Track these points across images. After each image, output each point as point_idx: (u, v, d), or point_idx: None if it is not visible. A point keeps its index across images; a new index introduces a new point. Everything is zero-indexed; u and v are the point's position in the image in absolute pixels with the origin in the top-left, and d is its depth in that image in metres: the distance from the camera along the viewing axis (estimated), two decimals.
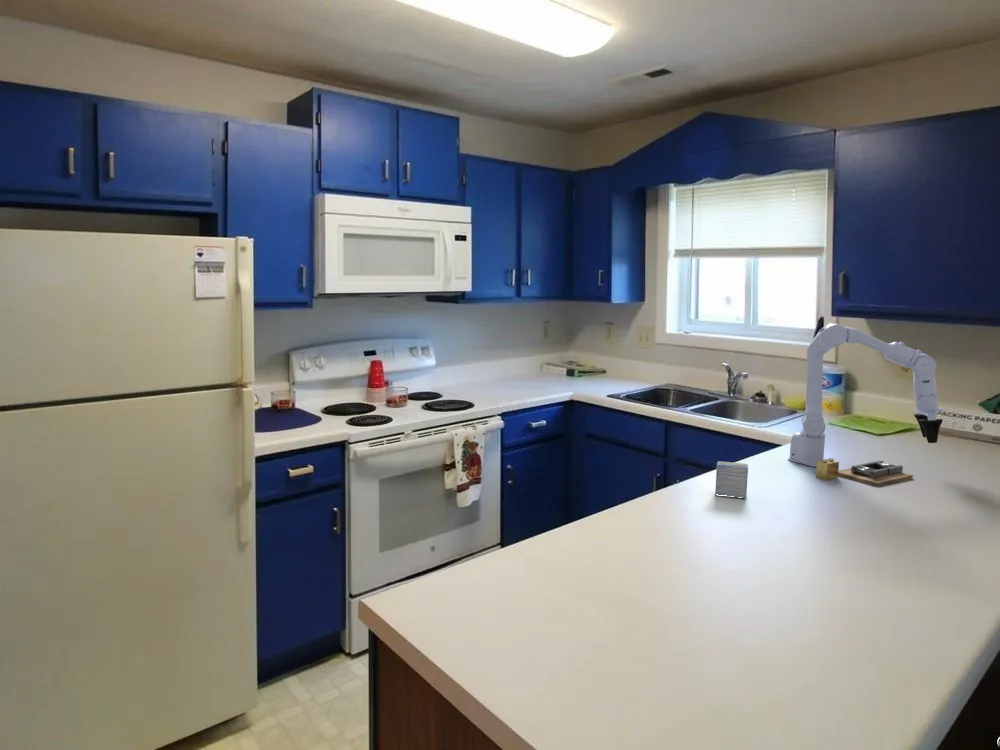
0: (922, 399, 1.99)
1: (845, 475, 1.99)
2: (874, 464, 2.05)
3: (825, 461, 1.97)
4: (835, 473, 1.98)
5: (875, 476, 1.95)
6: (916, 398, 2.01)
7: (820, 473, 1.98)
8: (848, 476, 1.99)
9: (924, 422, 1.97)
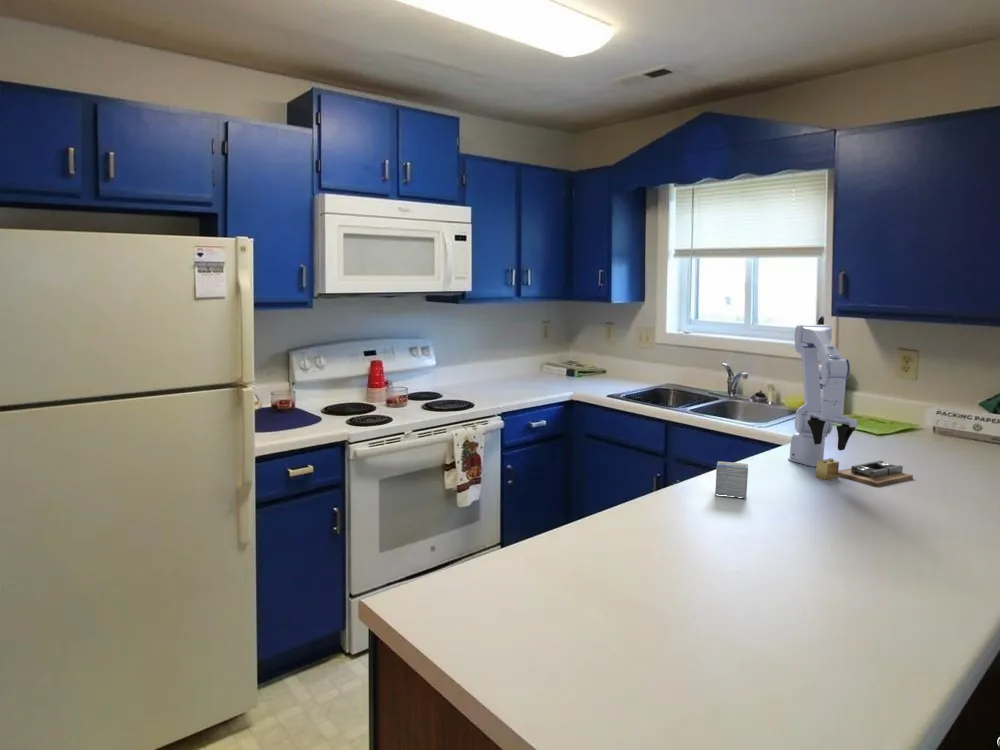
0: None
1: (845, 475, 1.99)
2: (874, 464, 2.05)
3: (825, 461, 1.97)
4: (835, 473, 1.98)
5: (875, 476, 1.95)
6: None
7: (820, 473, 1.98)
8: (848, 476, 1.99)
9: None
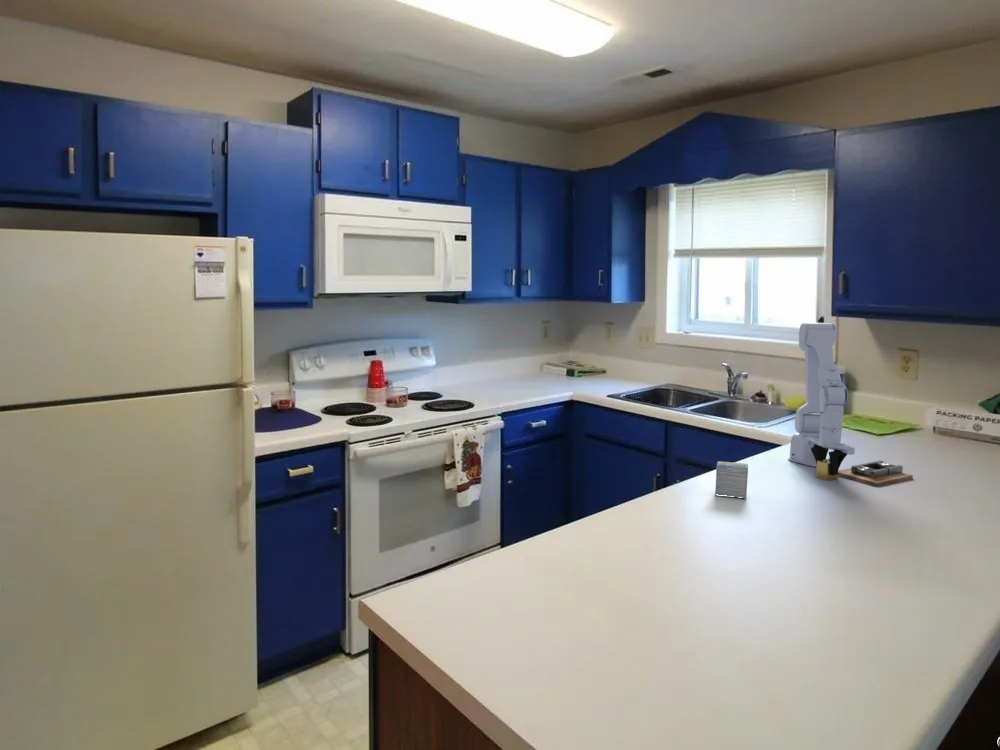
0: None
1: (845, 475, 1.99)
2: (874, 464, 2.05)
3: (825, 461, 1.97)
4: None
5: (875, 476, 1.95)
6: None
7: (820, 473, 1.98)
8: (848, 476, 1.99)
9: None
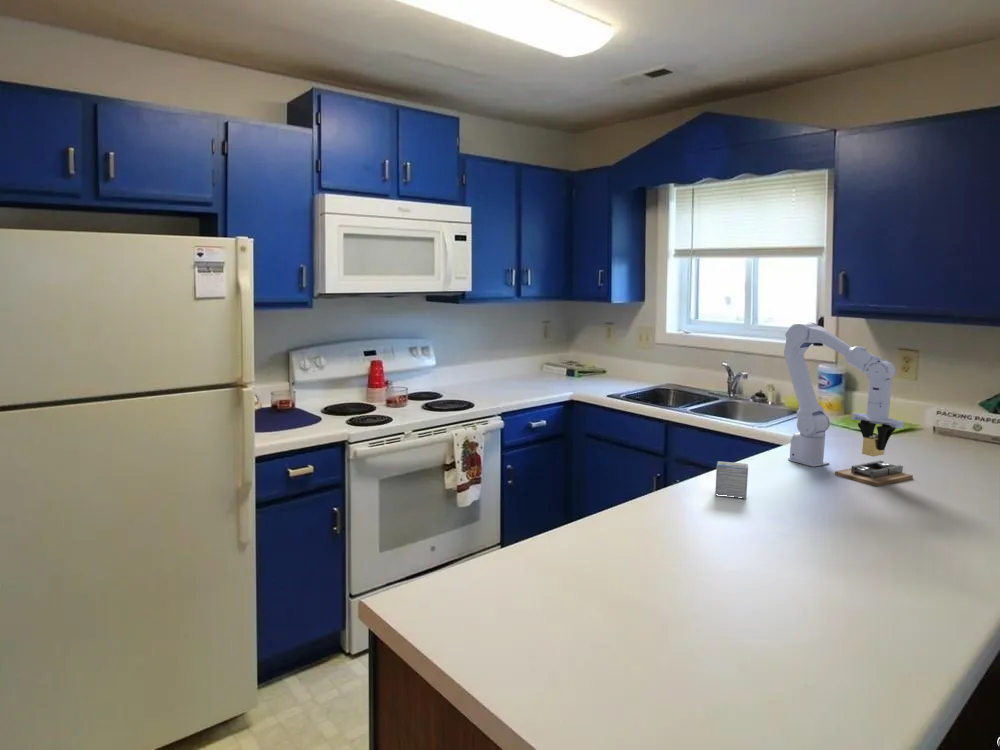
0: None
1: (845, 475, 1.99)
2: (874, 464, 2.05)
3: (872, 437, 1.98)
4: None
5: (875, 476, 1.95)
6: None
7: (867, 449, 1.99)
8: (848, 476, 1.99)
9: None
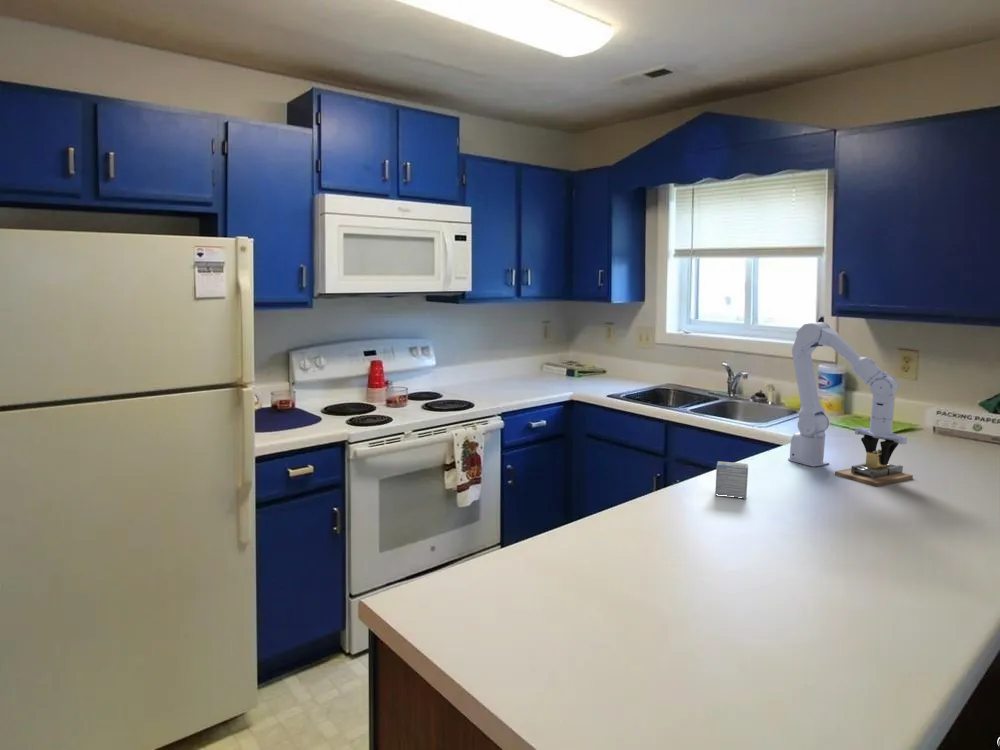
0: None
1: (845, 475, 1.99)
2: None
3: (875, 452, 1.99)
4: None
5: (875, 476, 1.95)
6: None
7: (870, 464, 2.00)
8: (848, 476, 1.99)
9: None
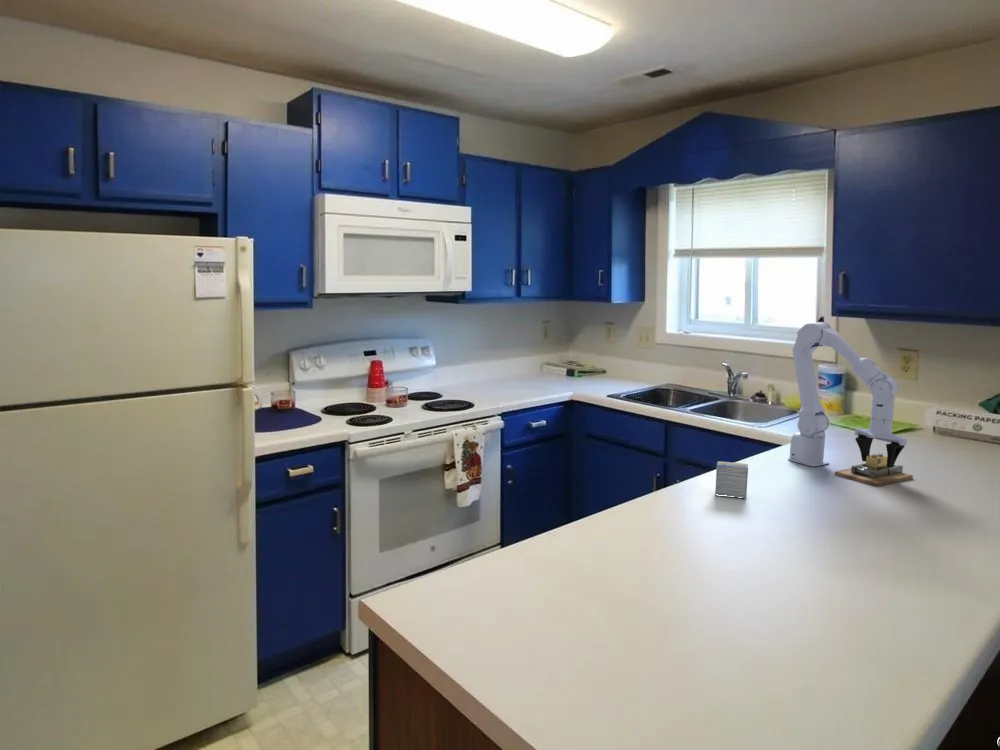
0: None
1: (845, 475, 1.99)
2: None
3: (875, 456, 1.99)
4: None
5: (875, 476, 1.95)
6: None
7: None
8: (848, 476, 1.99)
9: None
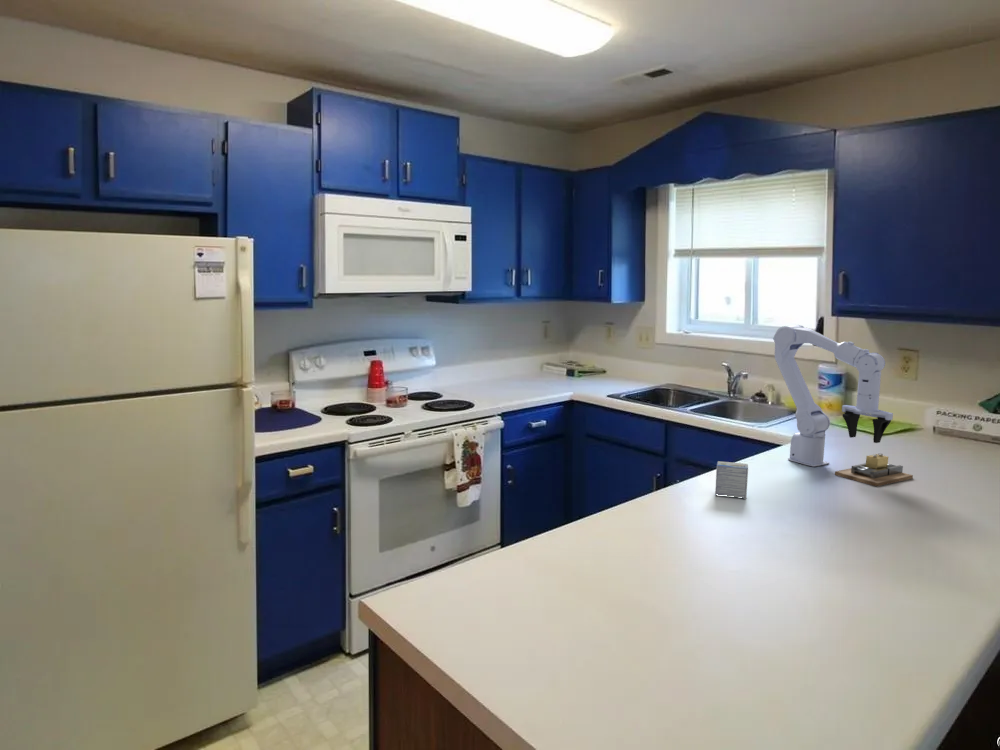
0: None
1: (845, 475, 1.99)
2: None
3: (875, 456, 1.99)
4: None
5: (875, 476, 1.95)
6: None
7: None
8: (848, 476, 1.99)
9: None
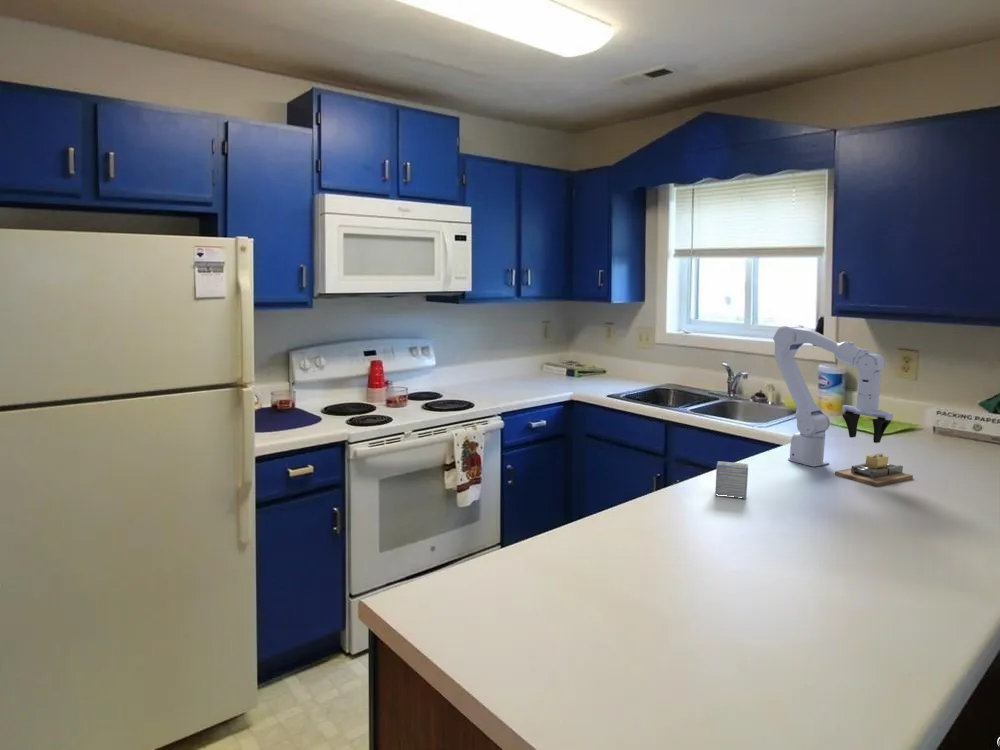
0: None
1: (845, 475, 1.99)
2: None
3: (875, 456, 1.99)
4: None
5: (875, 476, 1.95)
6: None
7: None
8: (848, 476, 1.99)
9: None
